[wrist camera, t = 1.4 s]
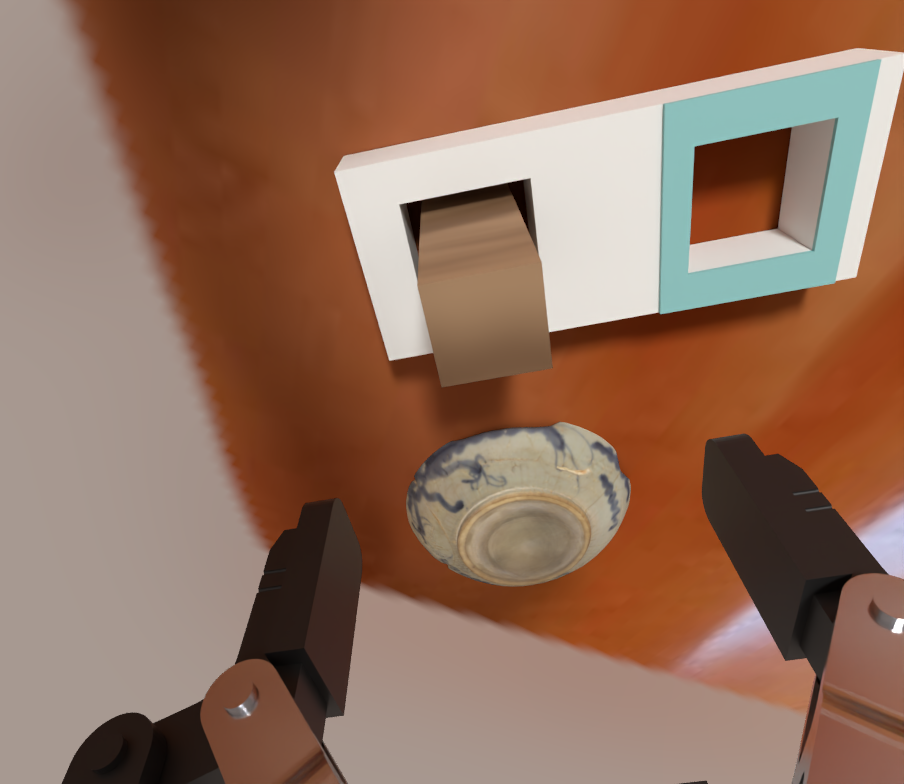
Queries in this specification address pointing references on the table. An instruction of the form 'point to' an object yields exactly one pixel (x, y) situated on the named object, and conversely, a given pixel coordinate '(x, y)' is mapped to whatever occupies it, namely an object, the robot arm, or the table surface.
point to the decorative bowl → (519, 503)
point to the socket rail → (643, 193)
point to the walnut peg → (481, 287)
